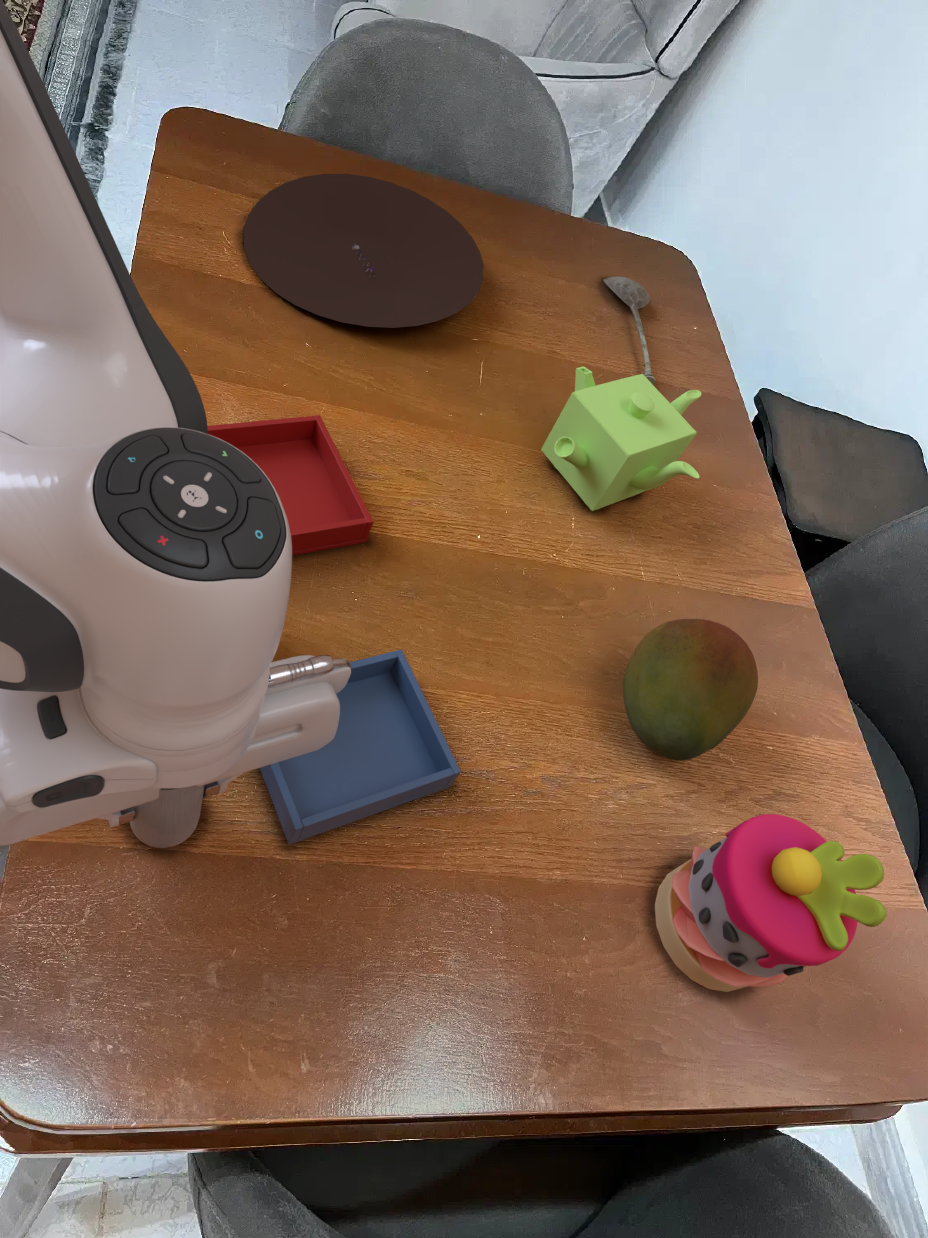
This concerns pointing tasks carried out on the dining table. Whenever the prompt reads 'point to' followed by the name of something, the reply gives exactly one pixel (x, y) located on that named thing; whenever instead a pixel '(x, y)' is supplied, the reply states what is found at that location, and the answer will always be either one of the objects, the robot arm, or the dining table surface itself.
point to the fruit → (688, 687)
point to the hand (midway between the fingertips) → (165, 799)
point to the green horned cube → (619, 438)
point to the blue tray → (365, 754)
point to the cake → (764, 904)
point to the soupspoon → (633, 310)
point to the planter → (168, 817)
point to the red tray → (304, 479)
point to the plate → (362, 251)
